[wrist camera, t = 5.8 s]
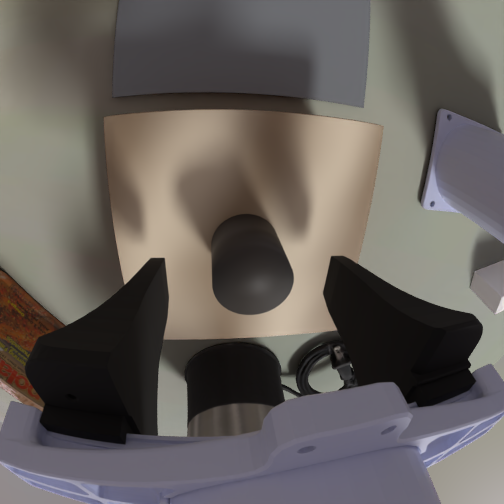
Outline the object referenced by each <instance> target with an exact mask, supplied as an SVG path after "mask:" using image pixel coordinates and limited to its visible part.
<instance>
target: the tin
mask: <svg viewBox="0 0 504 504" xmlns="http://www.w3.org/2000/svg"><path fill="white" fill-rule="evenodd" d="M62 327H65V325H64V324H63V323H61V322H60V321H59V320H58V319H56V318H55V317H54V316H53V315H51V314H50V313H49V312H48V311H47V310H45V309H44V308H43V307H42V306H41V305H40V304H39V303H37V302H36V301H35V300H34V299H33V298H32V297H31V296H30V295H29V294H28V293H27V292H25V291H24V290H23V289H22V288H21V287H20V286H19V285H18V284H17V283H16V282H15V281H14V280H13V279H12V278H11V277H10V276H8V275H7V274H6V273H4V272H3V271H1V270H0V387H1V388H2V389H4V390H5V391H6V392H8V393H9V394H10V395H12V396H13V397H15V398H16V399H18V400H19V401H21V402H22V403H23V404H26V405H30V406H33V407H36V408H38V409H39V410H41V411H42V412H43V408H44V405H45V403H44V402H43V401H42V399H41V398H40V396H39V395H38V394H37V392H36V391H35V389H34V388H33V387H32V385H31V384H30V382H29V380H28V378H27V376H26V373H25V365H26V362H27V360H28V358H29V356H30V353H31V351H32V349H33V347H34V345H35V343H36V341H37V339H38V337H40V336H43V335H45V334H48V333H50V332H53V331H55V330H58V329H60V328H62Z"/></svg>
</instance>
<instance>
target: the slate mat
mask: <svg viewBox="0 0 504 504" xmlns="http://www.w3.org/2000/svg"><path fill="white" fill-rule="evenodd" d="M369 32H370V0H119V6H118V14H117V23H116V33H115V45H114V61H113V91H112V97H122V96H132V95H144V94H159V93H182V92H227V93H250V94H265V95H278V96H288V97H297V98H305V99H313V100H320V101H327V102H333V103H339V104H345V105H351V106H356V107H361V108H364V99H365V89H366V78H367V66H368V51H369Z"/></svg>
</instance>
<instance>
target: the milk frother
mask: <svg viewBox="0 0 504 504" xmlns="http://www.w3.org/2000/svg"><path fill="white" fill-rule="evenodd" d="M330 354H331V357H330V359H331V364H332V368H333V369H337V371H338V372H339V374H340V378H341V380H344V386H343V387H342V388H340V389H339V390H344V389H349V388H355V387H358V384H357V381H356V377H355V373H354V371H353V368H352V367H350V364H351V360H350V357H349V355H348V352H347V350H346V347H345V345H344V343H343V341H342V340H338V341H332V342H328V343H325V344H323V345H320V346H318V347H316V348H315V349H313V350H311V351H310V352H309V353H308V354H306V355H305V357H304V358H303V359H302V361H301V362H300V364H299V366H298V369H297V374H296V383H297V387H298V389H299V391H300V393H301V394H300V393H298V392H296V391H294V390H292V389H291V388H289V387H287V386H285V385H283V384H281V378H280V374H281V365H280V363H279V361H278V359H277V358H276V357H275V356H274V355H273V354H272V353H271V352H269V351H268V350H266V349H264V348H261V347H258V346H256V345H252V344H245V343H230V344H222V345H216V346H213V347H210V348H207V349H205V350H203V351H201V352H199V353H198V354H196V355H195V356H194V357H193V358H192V359H191V360H190V361H189V362H188V364H187V366H186V369H185V380H186V382H187V395H188V423H187V427H188V431H187V437H215V436H235V435H240V434H245V433H249V432H254V431H258V430H261V429H262V425H263V420H264V418H265V417H266V416H267V414H268V413H269V412H270V410H271V409H272V408H274V407H275V406H277V405H279V404H281V403H283V402H285V399H284V394H283V390H285V391H288V392H290V393H292V394H294V395H296V396H297V397H301V396H306V395H313V394H320V393H321V392H318V391H316V390H314V389H313V388H311V386H310V385H309V383H308V376H309V373H310V371H311V369H312V368H313V366H314V365H315V364H316V363H317V362H318V361H319V360H320V359H322V358H324V357H325V356H328V355H330Z"/></svg>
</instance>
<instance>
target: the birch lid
mask: <svg viewBox="0 0 504 504" xmlns="http://www.w3.org/2000/svg"><path fill="white" fill-rule="evenodd" d="M383 127H384V126H381V125H378V124H373V123H368V122H362V121H356V120H350V119H343V118H336V117H328V116H320V115H311V114H302V113H291V112H278V111H262V110H236V109H193V110H167V111H151V112H139V113H128V114H119V115H110V116H106V117H104V137H105V153H106V166H107V177H108V186H109V195H110V203H111V211H112V218H113V225H114V231H115V237H116V243H117V249H118V255H119V260H120V265H121V270H122V275H123V280H124V285H125V284H126V283H127V282H128V281H129V280H130V279H131V278H132V277H133V276H134V275H135V274H136V273H137V272H138V271H139V270H140V269H141V268H142V266H143V265H144V264H145V263H146V262H147V261H148V260H149V259H150V258H165V264H166V274H167V283H168V292H169V306H168V318H167V323H166V328H165V333H164V338H163V340H189V339H229V338H250V337H267V336H281V335H294V334H305V333H316V332H326V331H335V330H337V328H336V326H335V324H334V322H333V320H332V318H331V316H330V314H329V311H328V309H327V306H326V302H325V299H324V296H323V290H324V285H325V281H326V277H327V272H328V268H329V263H330V258H331V256H345V257H347V258H349V259H351V260H352V261H354V262H356V263H357V264H358V260H359V256H360V252H361V248H362V243H363V239H364V235H365V230H366V226H367V221H368V216H369V211H370V207H371V202H372V196H373V191H374V186H375V180H376V174H377V168H378V162H379V156H380V149H381V142H382V135H383Z"/></svg>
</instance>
